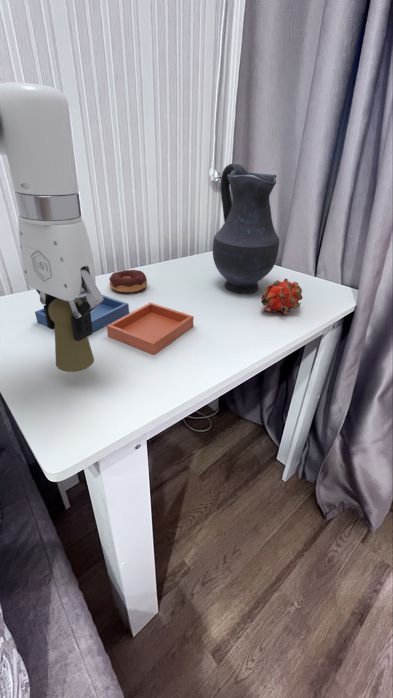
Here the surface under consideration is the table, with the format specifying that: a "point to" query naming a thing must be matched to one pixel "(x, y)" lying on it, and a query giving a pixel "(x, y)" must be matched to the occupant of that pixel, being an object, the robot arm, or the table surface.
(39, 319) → the blue tray
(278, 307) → the dragon fruit
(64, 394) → the table surface
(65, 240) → the robot arm
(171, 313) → the terracotta tray
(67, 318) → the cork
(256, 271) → the pitcher
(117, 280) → the donut
